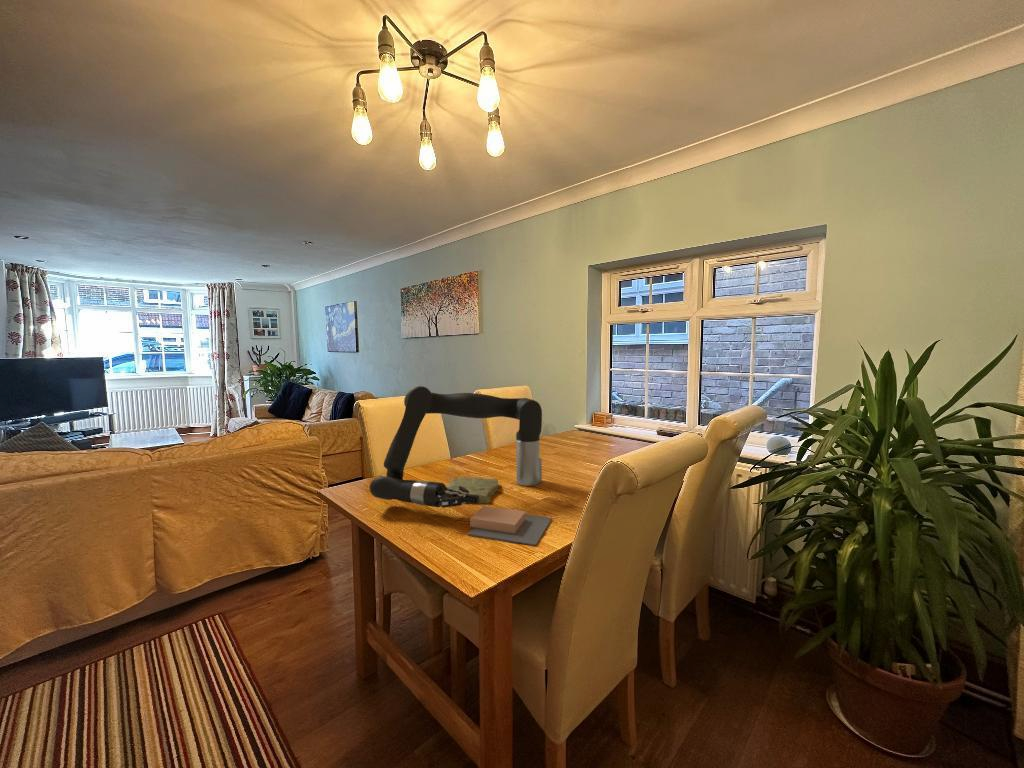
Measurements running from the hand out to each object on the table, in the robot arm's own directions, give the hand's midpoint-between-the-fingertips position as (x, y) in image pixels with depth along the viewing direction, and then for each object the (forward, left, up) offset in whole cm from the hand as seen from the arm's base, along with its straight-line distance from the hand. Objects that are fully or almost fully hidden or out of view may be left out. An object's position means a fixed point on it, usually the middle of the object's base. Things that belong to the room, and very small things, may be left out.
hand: (478, 499), depth 122 cm
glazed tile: (0, 0, -5) cm, 5 cm away
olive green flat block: (-9, -24, -8) cm, 27 cm away
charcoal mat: (-7, +8, -7) cm, 13 cm away
